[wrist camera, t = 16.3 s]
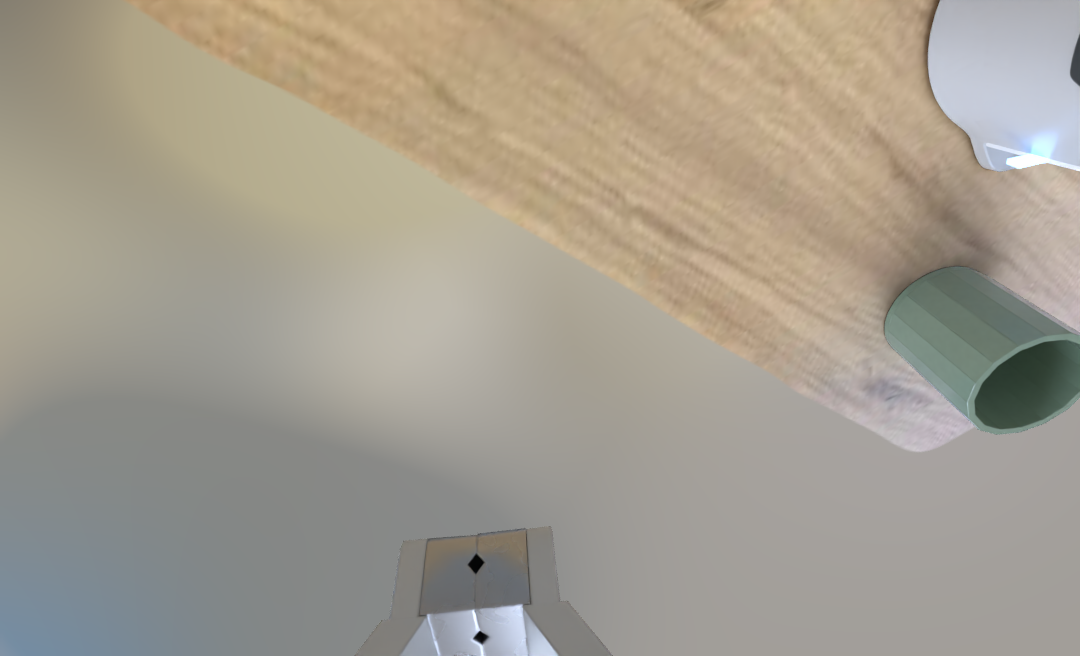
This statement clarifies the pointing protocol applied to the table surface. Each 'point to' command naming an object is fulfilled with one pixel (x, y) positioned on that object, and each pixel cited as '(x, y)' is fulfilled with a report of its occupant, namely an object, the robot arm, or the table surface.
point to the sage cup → (986, 349)
